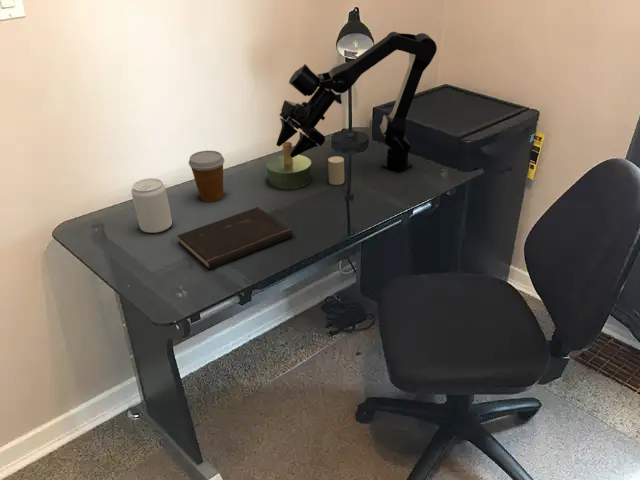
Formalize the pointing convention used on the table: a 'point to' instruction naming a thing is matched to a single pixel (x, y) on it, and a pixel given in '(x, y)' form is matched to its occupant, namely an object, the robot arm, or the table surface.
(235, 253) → the hardcover book
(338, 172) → the candle
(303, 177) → the tin
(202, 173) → the disposable coffee cup
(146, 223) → the beverage can
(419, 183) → the table surface
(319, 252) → the table surface
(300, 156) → the lid
